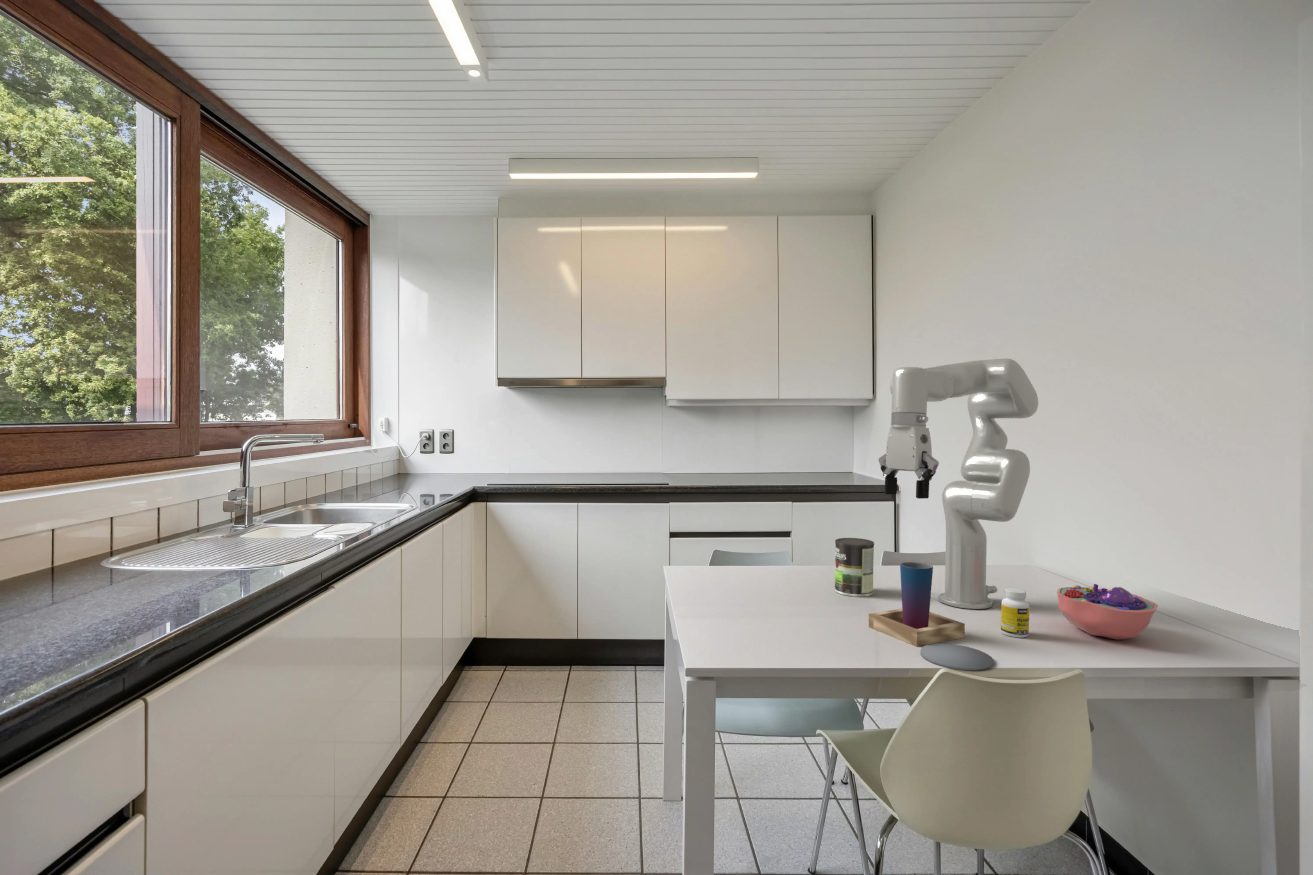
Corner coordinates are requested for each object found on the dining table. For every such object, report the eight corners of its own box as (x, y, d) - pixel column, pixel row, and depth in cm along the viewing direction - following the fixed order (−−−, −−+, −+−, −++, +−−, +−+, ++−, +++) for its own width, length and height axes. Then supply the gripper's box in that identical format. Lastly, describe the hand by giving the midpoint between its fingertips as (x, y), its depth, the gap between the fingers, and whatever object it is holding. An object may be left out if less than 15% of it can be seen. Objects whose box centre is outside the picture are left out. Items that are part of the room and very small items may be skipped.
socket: (914, 619, 152) (914, 606, 152) (964, 637, 139) (964, 623, 139) (868, 626, 146) (868, 613, 146) (916, 646, 134) (917, 632, 134)
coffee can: (843, 597, 171) (844, 544, 171) (828, 587, 181) (829, 537, 181) (880, 596, 172) (881, 544, 172) (863, 586, 182) (864, 537, 182)
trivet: (952, 642, 136) (952, 640, 136) (1008, 664, 124) (1008, 660, 124) (906, 651, 130) (906, 648, 130) (960, 674, 119) (960, 671, 119)
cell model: (1097, 618, 153) (1099, 571, 153) (1179, 647, 134) (1180, 594, 133) (1035, 622, 150) (1036, 574, 150) (1109, 652, 131) (1110, 597, 130)
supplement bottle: (1018, 639, 138) (1019, 594, 138) (995, 632, 143) (996, 588, 143) (1034, 635, 141) (1035, 591, 140) (1010, 628, 145) (1011, 585, 145)
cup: (935, 638, 139) (936, 569, 139) (902, 635, 140) (902, 567, 140) (928, 628, 146) (929, 562, 145) (896, 626, 147) (897, 560, 147)
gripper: (951, 422, 141) (948, 500, 141) (893, 422, 157) (891, 492, 157) (925, 420, 138) (922, 500, 138) (869, 421, 154) (867, 492, 154)
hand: (905, 496), depth 147 cm, fingers open, 9 cm apart
